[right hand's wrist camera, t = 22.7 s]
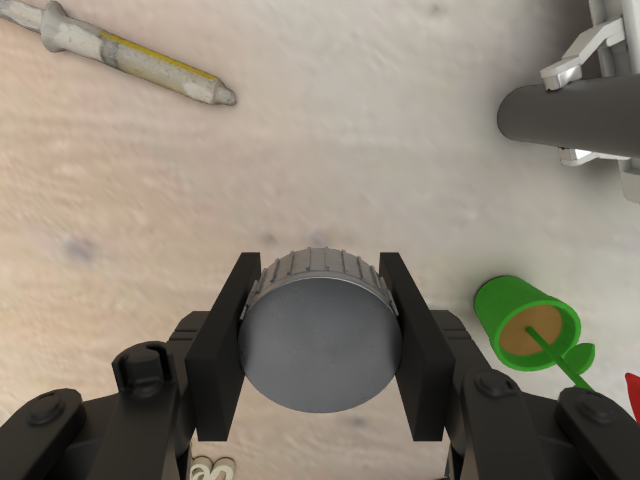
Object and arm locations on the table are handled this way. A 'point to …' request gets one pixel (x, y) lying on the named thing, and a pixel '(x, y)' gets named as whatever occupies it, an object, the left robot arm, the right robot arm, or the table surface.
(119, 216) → the table surface
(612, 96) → the bottle
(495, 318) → the potted flower
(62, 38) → the syringe
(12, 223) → the table surface
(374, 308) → the lid
